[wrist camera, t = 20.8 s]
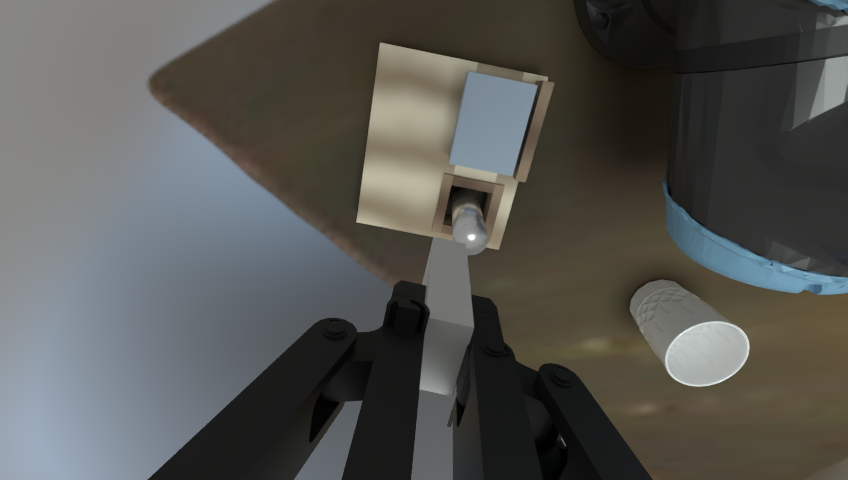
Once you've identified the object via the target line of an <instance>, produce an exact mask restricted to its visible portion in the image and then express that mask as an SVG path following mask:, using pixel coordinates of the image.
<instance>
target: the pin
mask: <svg viewBox="0 0 848 480" xmlns="http://www.w3.org/2000/svg"><path fill="white" fill-rule="evenodd" d="M451 202H452V225H453V241H455V242H460V243H464V244H466V249H467V255H476V254H478V253H480V252H482V251H483V250H484V249H485V247H486V246H487V243H488V234H487V230H486V226H485V222H484V219H483V215H482V211H481V208H480V204H479V200H478V197H477V194H476V192H475V191H474V190H472V189H468V188H459V189H458V190H456V191H455V192H454V194H453V195H452V199H451Z"/></svg>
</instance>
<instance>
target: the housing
mask: <svg viewBox="0 0 848 480" xmlns="http://www.w3.org/2000/svg"><path fill="white" fill-rule="evenodd" d="M537 86H538V85H533V84H529V83H524V82H519V81H514V80H509V79H504V78H499V77H494V76H490V75H485V74H480V73H475V72H470V71H468V72H467V73H466V78H465V82H464V87H463V92H462V97H461V101H460V106H459V111H458V115H457V120H456V125H455V130H454V134H453V139H452V144H451V149H450V153H449V164H453V165H458V166H463V167H468V168H473V169H478V170H483V171H488V172H493V173H498V174H503V175H508V176H513V173H514V169H515V165H516V162H517V158H518V155H519V151H520V147H521V144H522V140H523V137H524V133H525V130H526V126H527V122H528V119H529V115H530V112H531V108H532V104H533V101H534V97H535V94H536V90H537Z"/></svg>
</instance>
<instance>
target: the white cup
mask: <svg viewBox="0 0 848 480" xmlns="http://www.w3.org/2000/svg"><path fill="white" fill-rule="evenodd" d="M630 313H631V315H632V317H633V319H634V321H635V322H636V324H637V325H638V327H639V329H640V331H641V332H642V334H643V335H644V337H645V339H646V340H647V342H648V343H649V345H650V347H651V348H652V349H653V351H654V352H655V354H656V355H657V357H658V358H659V360H660V361H661V362H662V364H663V365H664V367H665V368H666V370H667V371H668V373H669V374H670V375H671V376H672V377H673V378H674V379H675V380H676V381H678V382H680V383H682V384H685V385H690V386H708V385H713V384H716V383H719V382H722V381H724V380H726V379H728V378H729V377H731V376H732V375H734V374H735V373H736V372H737V371H738V370H739V369H740V368H741V367H742V366H743V364H744V363H745V361H746V359H747V357H748V354H749V348H750V346H749V340H748V338H747V336H746V334H745V333H744V332H743V331H742V330H741V329H740V328H739V327H738V326H736V325H735V324H734V323H732V322H731V321H730V320H728V319H727V318H726V317H724V316H723V315H722V314H720V313H719V312H718V311H716V310H715V309H714V308H713V307H711V306H710V305H708V304H707V303H705V302H704V301H703V300H702V299H700V298H698V297H697V296H696V295H694V294H693V293H690V292H689V291H687V290H686V289H685V288H683V287H682V286H680V285H679V284H678V283H676V282H675V281H670V280H663V279H661V280H657V281H652V282H648V283H647V284H645V285H644V286H642V287H641V288H639V289H638V290H637V291H636V293H635V294H634V296H633V297H632V299H631V302H630Z"/></svg>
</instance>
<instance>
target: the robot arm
mask: <svg viewBox="0 0 848 480" xmlns="http://www.w3.org/2000/svg"><path fill="white" fill-rule="evenodd" d="M575 6H576V12H577V16H578V20H579V23H580V25H581V28H582V30H583V32H584V34H585V36H586V38H587V39H588V41H589V42H590V43H591V45H592V46H593V47H594V48H595V49H596V50H597V51H598V52H599V53H600V54H601V55H603V56H604V57H605V58H607V59H608V60H610V61H612V62H614V63H616V64H619V65H622V66H625V67H630V68H639V69H647V68H660V67H667V66H671V65H674V73H673V87H672V101H671V115H670V129H669V143H668V156H667V170H666V177H665V178H664V180H663V190H664V194H665V196H666V226H667V230H668V233H669V235H670V237H671V238H672V239H673V240H674V241H675V243H676V244H677V246H678V248H679V249H680V250H681V251H682V252H683V253H685V254H686V255H687V256H688V257H690V258H691V259H693V260H694V261H696V262H697V263H699V264H701V265H702V266H704V267H706V268H708V269H710V270H712V271H714V272H717V273H719V274H721V275H724V276H726V277H729V278H732V279H735V280H737V281H740V282H744V283H747V284H751V285H754V286H758V287H762V288H767V289H771V290H777V291H783V292H791V293H799V292H801V291H802V290H803V289H805V290H808V291H811V292H813V293H815V294H818V295H831V294H842V293H848V0H575ZM499 322H500V321H499V316H498V311H497V307H496V306H495V304H494V303H493V302H492V301H491V299H489V298H485V297H480V296H475V295H471V289H470V279H469V269H468V259H467V249H466V244H464V243H460V242H455V241H451V240H446V239H442V238H437V237H433V242H432V246H431V250H430V254H429V258H428V262H427V266H426V271H425V275H424V279H423V283H422V285H421V284H416V283H412V282H407V281H403V280H401V281H400V282H398V283H397V284H396V285H395V286H394V289H393V293H392V297H391V300H390V301H389V302H388V304H387V308H386V313H385V317H384V322H383V326H381V327H380V328H379V329H377V330H375V331H371V332H357V329H356V328H355V326H354V325H353V324H352V323H350V322H348V321H346V320H343V319H339V318H327V319H323V320H320V321H318V322H317V323H315V324H314V325H313V326H312V327H311V328H309V329H308V330H307V331H306V332H305V333H304V334H303V335H302V336H301V337H300V338H299V339H298V340H297V341H296V342H294V343H293V344H292V345H291V346H290V347H289V348H288V349H287V350H286V351H285V352H284V353H283V354H282V355H281V356H279V358H277V359H276V360H275V361H274V362H273V363H272V364H271V365H270V366H269V367H268V368H267V369H266V370H265V371H263V372H262V373H261V374H260V375H259V376H258V377H257V378H256V379H255V380H254V381H253V382H252V383H251V384H250V385H249V386H247V387H246V388H245V389H244V390H243V391H242V392H241V393H240V394H239V395H238V396H237V397H236V398H235V399H234V400H233V401H231V402H230V403H229V404H228V405H227V406H226V407H225V408H224V409H223V410H222V411H221V412H220V413H219V414H217V415H216V416H215V417H214V418H213V419H212V420H211V421H210V422H209V423H208V424H207V425H206V426H205V427H204V428H203V429H201V430H200V431H199V432H198V433H197V434H196V435H195V436H194V437H193V438H192V439H191V440H190V441H189V442H188V443H186V444H185V445H184V446H183V447H182V448H181V449H180V450H179V451H178V452H177V453H176V454H175V455H174V456H173V457H172V458H170V460H168V461H167V462H166V463H165V464H164V465H163V466H162V467H161V468H160V469H159V470H158V471H157V472H155V473H154V474H153V475H152V476H151V477H150V478H149V479H148V480H294V478H295V477H296V475H297V474H298V473H299V471H300V470H301V468H302V467H303V465H304V464H305V462H306V461H307V459H308V458H309V456H310V455H311V453H312V452H313V451H314V449H315V448H316V446H317V445H318V443H319V442H320V440H321V439H322V437H323V436H324V434H325V433H326V431H327V430H328V428H329V427H330V426H331V424H332V422H333V421H334V420H335V418H336V417H337V415H338V414H339V412H340V411H341V409H342V408H343V406H344V403H345V401H361V400H363V402H362V406H361V409H360V413H359V417H358V420H357V425H356V428H355V432H354V435H353V439H352V443H351V447H350V450H349V454H348V458H347V461H346V465H345V469H344V473H343V476H342V480H411V473H412V462H413V451H414V441H415V430H416V420H417V408H418V398H419V389H421V390H425V391H431V392H435V393H440V394H444V395H449V396H453V394H454V390H455V387H456V384H457V396H456V399H455V402H454V405H453V408H452V411H451V415H450V418H449V421H448V424H447V426H448V427H451V424H452V421H453V480H653V479H652V478H651V477H650V475H649V474H648V472H647V471H646V470H645V468H644V467H643V466H642V464H641V463H640V461H639V460H638V459H637V457H636V456H635V454H634V453H633V452H632V450H631V449H630V447H629V446H628V445H627V443H626V442H625V441H624V439H623V438H622V436H621V435H620V434H619V432H618V431H617V429H616V428H615V427H614V425H613V424H612V423H611V421H610V420H609V418H608V417H607V416H606V414H605V413H604V411H603V410H602V409H601V407H600V406H599V404H598V403H597V402H596V400H595V399H594V398H593V396H592V395H591V393H590V392H589V391H588V389H587V388H586V386H585V385H584V384H583V382H582V381H581V379H580V378H579V377H578V376H577V375H576V374H575V373H573V372H572V371H570V370H569V369H568V368H566V367H563V366H561V365H558V364H552V363H548V364H544V365H542V366H541V367H540V368H539V371H535V370H533V369H531V368H529V367H526V366H524V365H522V364H520V363H519V362H517V361H516V360H515V356H514V353H513V351H512V349H511V348H510V347H509V346H508V345H507V344H506V343H504V340H503V335H502V331H501V326H500V323H499ZM561 437H562V438H563V440H564V442H565V444H566V447H565V446H564V444H563V442H562V441H561Z"/></svg>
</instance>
